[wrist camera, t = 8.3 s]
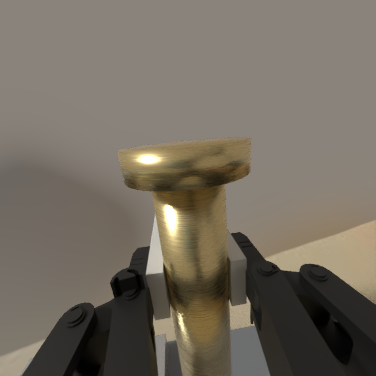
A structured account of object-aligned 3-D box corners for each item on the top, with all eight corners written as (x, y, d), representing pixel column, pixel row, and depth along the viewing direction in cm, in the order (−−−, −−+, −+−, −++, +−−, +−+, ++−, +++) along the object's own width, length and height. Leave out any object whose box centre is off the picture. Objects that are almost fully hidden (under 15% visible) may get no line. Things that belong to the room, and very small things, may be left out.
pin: (231, 337, 15) (225, 136, 10) (264, 440, 10) (283, 137, 5) (169, 349, 14) (132, 146, 9) (171, 463, 9) (93, 157, 4)
